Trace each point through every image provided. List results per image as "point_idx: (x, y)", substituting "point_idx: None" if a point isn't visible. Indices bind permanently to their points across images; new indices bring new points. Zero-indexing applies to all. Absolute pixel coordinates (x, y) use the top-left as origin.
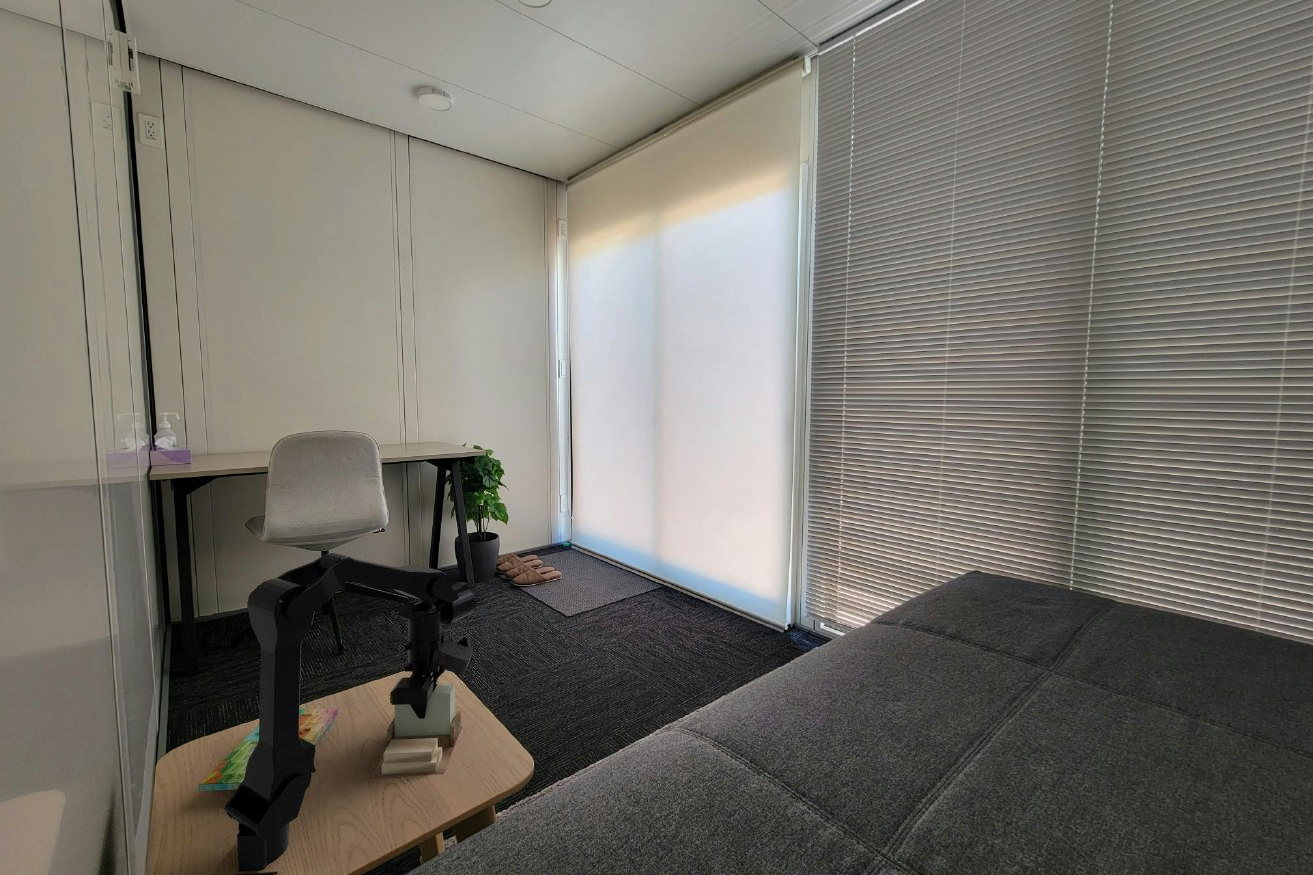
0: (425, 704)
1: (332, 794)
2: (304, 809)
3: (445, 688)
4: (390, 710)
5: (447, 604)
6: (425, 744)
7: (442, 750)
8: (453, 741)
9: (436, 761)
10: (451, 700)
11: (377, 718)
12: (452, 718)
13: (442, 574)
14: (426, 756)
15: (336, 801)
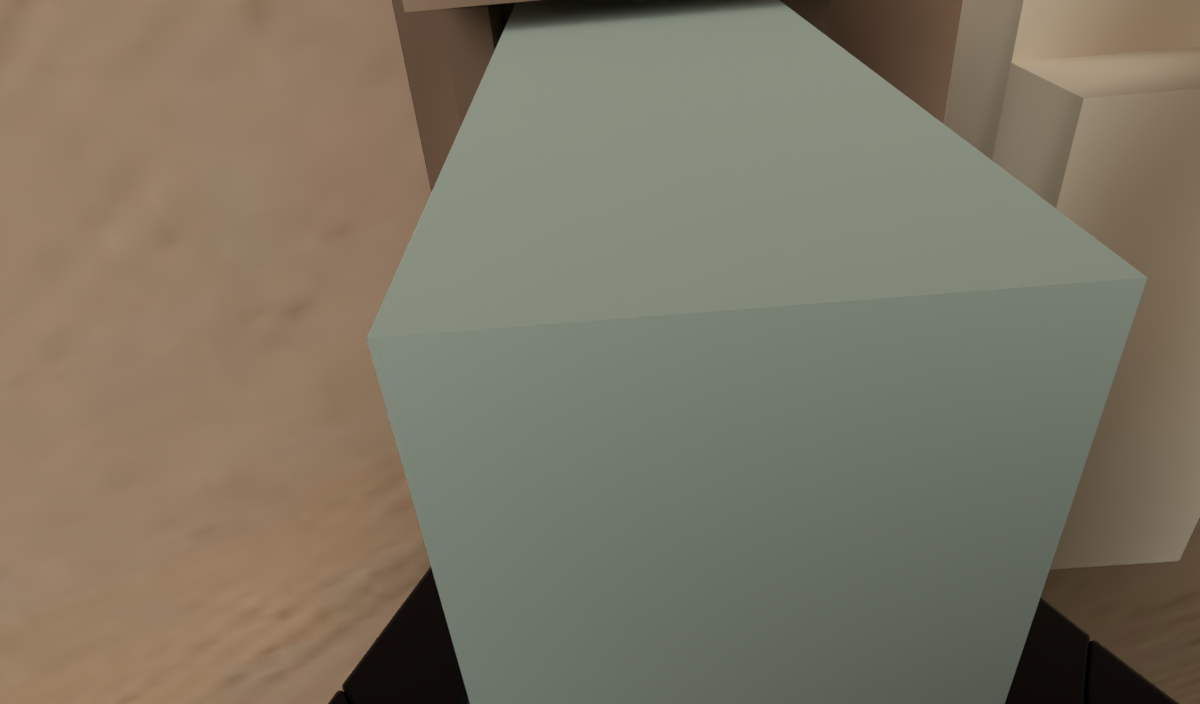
0: (1105, 658)
1: (1103, 600)
2: (1182, 660)
3: (686, 550)
4: (231, 642)
5: None
6: (1181, 216)
7: (850, 16)
8: None
9: None
10: (803, 137)
11: (343, 672)
12: (634, 21)
13: None
14: None
15: (1182, 561)
